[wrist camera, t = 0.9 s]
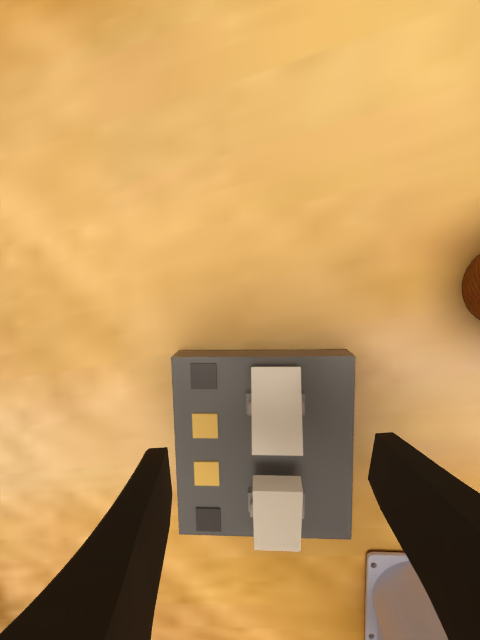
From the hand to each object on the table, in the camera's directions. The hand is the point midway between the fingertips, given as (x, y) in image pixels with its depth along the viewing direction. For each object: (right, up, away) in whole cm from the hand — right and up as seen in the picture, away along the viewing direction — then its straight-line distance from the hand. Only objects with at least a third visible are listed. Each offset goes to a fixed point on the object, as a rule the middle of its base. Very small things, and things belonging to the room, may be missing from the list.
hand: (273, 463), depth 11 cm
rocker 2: (+2, -9, +14) cm, 17 cm away
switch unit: (+1, -5, +17) cm, 18 cm away
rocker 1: (+1, -2, +13) cm, 13 cm away
